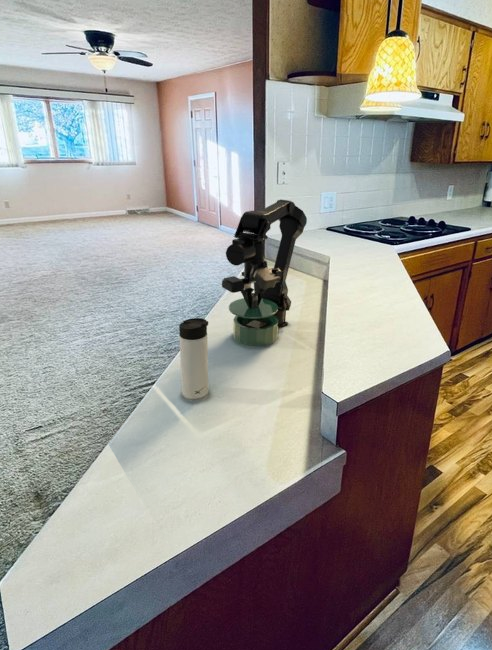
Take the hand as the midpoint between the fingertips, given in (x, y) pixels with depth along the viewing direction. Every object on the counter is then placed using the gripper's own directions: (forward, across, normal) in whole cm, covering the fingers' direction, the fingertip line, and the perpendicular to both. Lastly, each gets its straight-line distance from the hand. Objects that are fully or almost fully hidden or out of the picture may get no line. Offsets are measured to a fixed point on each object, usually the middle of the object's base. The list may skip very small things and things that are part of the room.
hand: (253, 306), depth 124 cm
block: (+11, +2, +1) cm, 12 cm away
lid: (+1, 0, 0) cm, 1 cm away
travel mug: (+12, -28, -16) cm, 34 cm away
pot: (+12, +2, +1) cm, 12 cm away
